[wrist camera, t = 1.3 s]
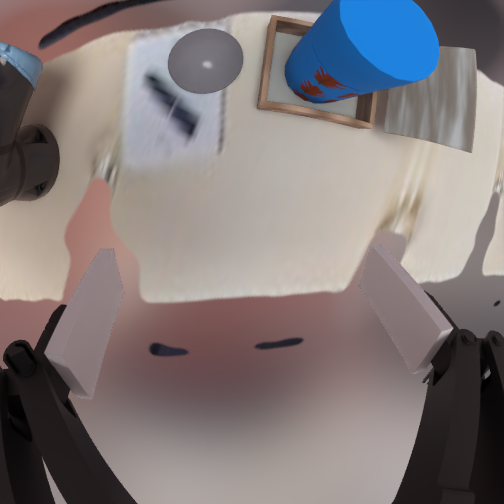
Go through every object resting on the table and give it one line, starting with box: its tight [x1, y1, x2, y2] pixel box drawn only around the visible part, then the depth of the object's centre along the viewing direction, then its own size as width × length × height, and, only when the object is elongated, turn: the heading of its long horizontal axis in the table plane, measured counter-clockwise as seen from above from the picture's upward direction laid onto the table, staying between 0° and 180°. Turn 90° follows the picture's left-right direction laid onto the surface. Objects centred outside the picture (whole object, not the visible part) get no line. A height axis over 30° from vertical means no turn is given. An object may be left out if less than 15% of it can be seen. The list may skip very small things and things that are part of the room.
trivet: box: [168, 29, 243, 94], centre depth 35 cm, size 12×12×1 cm
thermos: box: [285, 0, 440, 103], centre depth 26 cm, size 11×11×25 cm
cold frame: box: [257, 15, 477, 153], centre depth 29 cm, size 26×16×20 cm, turn 83°
